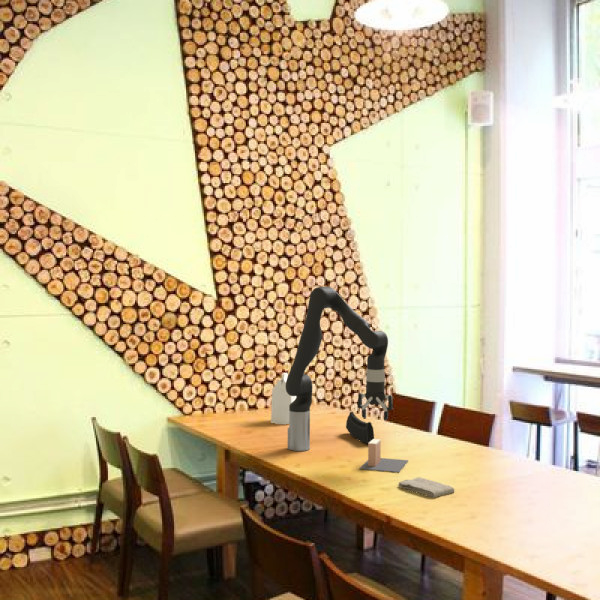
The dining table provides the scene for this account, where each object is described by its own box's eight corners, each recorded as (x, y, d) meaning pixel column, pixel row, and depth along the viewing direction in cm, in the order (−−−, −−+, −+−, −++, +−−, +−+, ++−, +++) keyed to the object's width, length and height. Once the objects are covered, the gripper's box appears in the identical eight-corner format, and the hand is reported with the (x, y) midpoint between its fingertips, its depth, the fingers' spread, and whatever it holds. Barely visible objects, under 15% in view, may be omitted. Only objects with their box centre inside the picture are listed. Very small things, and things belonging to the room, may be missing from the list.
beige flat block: (368, 465, 297) (368, 443, 296) (373, 460, 305) (373, 438, 305) (375, 466, 296) (375, 443, 295) (380, 461, 304) (380, 439, 304)
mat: (359, 469, 292) (359, 468, 292) (370, 458, 311) (370, 457, 311) (398, 472, 287) (398, 471, 287) (408, 461, 306) (408, 460, 306)
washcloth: (417, 483, 274) (417, 474, 274) (456, 493, 260) (456, 485, 260) (395, 488, 267) (395, 480, 267) (434, 499, 253) (434, 491, 253)
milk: (291, 424, 384) (292, 375, 384) (270, 423, 387) (271, 374, 387) (298, 420, 396) (298, 372, 395) (277, 419, 399) (278, 371, 398)
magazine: (376, 427, 332) (355, 398, 360) (370, 427, 331) (348, 398, 359) (372, 460, 337) (351, 429, 365) (365, 461, 337) (345, 430, 364)
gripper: (356, 380, 298) (355, 419, 299) (390, 382, 294) (390, 422, 294) (360, 377, 305) (360, 416, 306) (394, 379, 301) (394, 419, 301)
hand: (374, 419), depth 300 cm, fingers open, 8 cm apart
